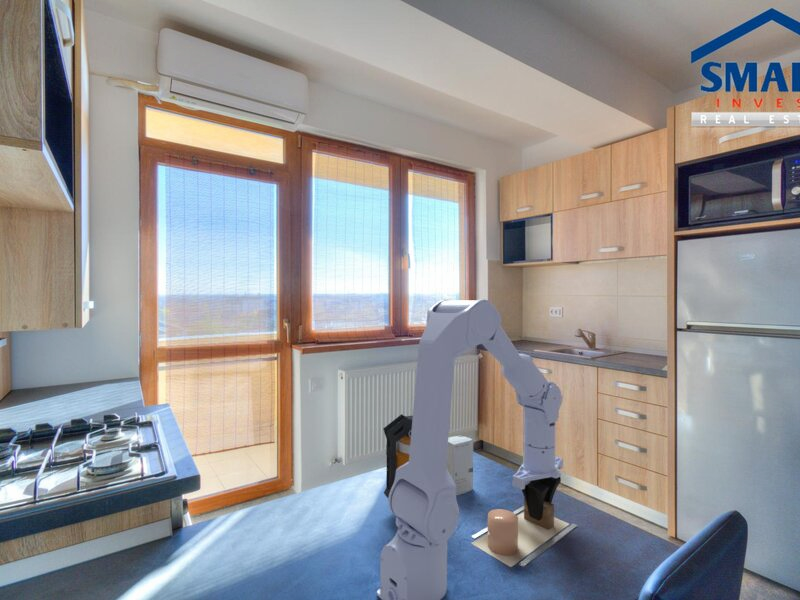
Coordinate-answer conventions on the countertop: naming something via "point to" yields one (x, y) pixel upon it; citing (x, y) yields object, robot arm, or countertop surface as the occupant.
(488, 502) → the countertop surface
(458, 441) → the skincare box
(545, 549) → the guide rails
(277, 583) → the countertop surface
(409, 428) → the canister
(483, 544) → the beige board with block
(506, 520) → the tan rounded piece
